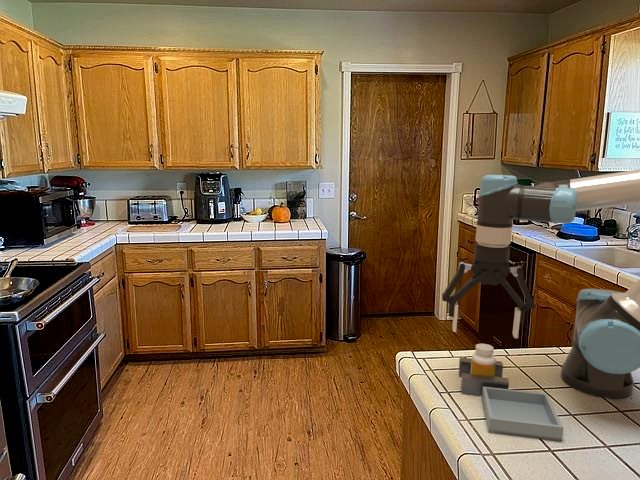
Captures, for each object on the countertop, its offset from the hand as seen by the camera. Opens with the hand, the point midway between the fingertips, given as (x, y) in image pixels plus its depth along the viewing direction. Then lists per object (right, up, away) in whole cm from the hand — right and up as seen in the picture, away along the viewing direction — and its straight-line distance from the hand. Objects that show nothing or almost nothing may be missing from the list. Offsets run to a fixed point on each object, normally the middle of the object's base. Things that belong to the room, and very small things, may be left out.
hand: (484, 333), depth 112 cm
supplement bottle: (0, -13, +2) cm, 13 cm away
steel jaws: (0, -13, +2) cm, 13 cm away
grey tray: (+3, -16, -12) cm, 20 cm away
